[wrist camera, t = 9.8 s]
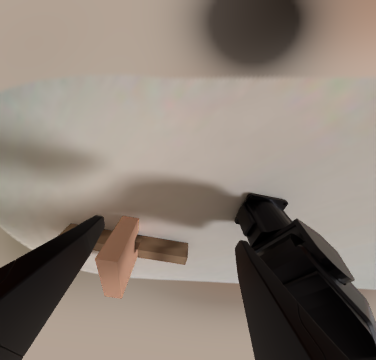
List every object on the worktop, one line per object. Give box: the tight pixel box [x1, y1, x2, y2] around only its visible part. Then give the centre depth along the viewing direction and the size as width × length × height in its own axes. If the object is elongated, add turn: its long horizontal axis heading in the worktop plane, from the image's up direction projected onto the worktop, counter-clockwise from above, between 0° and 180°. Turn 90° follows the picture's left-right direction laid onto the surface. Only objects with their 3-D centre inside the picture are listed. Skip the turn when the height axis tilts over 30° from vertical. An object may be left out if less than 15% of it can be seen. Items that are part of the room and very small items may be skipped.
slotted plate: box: [95, 216, 139, 298], centre depth 25 cm, size 3×12×8 cm, turn 169°
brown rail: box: [58, 224, 188, 265], centre depth 27 cm, size 24×2×3 cm, turn 79°
